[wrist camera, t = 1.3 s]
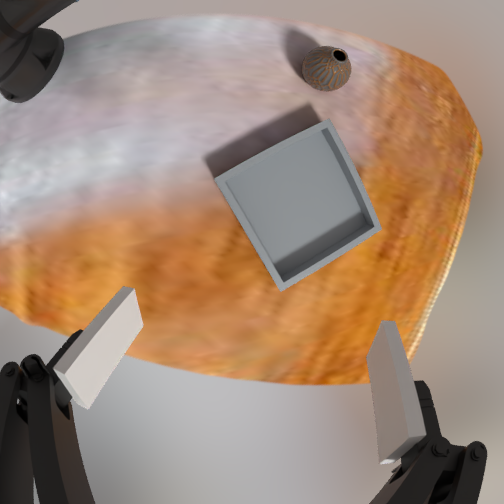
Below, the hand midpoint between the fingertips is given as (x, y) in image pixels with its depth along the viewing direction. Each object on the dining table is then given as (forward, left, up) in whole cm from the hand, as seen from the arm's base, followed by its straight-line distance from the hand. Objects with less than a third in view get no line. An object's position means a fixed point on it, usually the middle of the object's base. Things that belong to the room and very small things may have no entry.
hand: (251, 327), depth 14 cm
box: (+1, +11, -27) cm, 29 cm away
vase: (-15, +24, -27) cm, 39 cm away
